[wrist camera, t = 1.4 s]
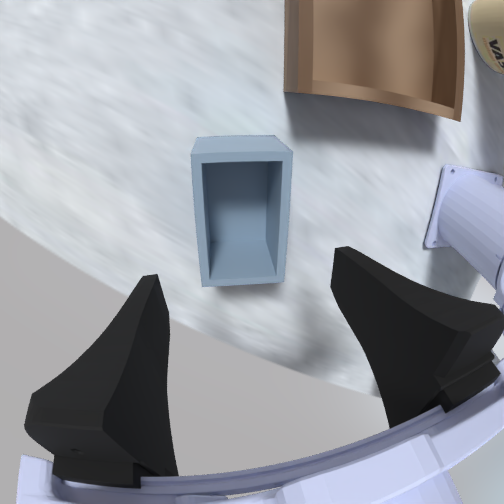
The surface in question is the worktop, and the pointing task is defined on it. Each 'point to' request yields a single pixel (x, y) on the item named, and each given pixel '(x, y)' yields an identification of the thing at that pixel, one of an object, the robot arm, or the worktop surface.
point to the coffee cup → (488, 31)
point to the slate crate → (241, 208)
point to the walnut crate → (378, 52)
